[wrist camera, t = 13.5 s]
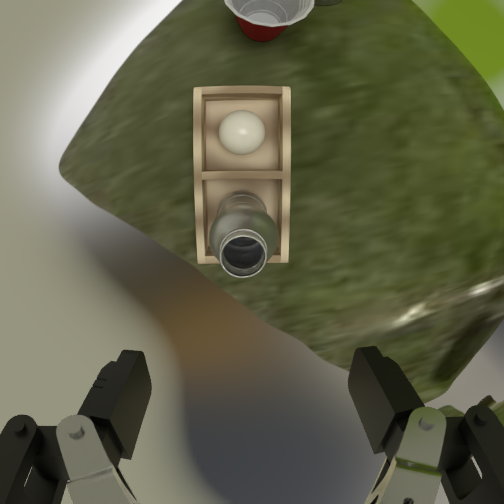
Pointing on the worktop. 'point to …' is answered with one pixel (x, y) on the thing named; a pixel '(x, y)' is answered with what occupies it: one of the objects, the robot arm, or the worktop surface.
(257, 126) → the white ball
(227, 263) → the plastic bottle
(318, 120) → the worktop surface
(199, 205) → the crate
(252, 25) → the plastic cup
